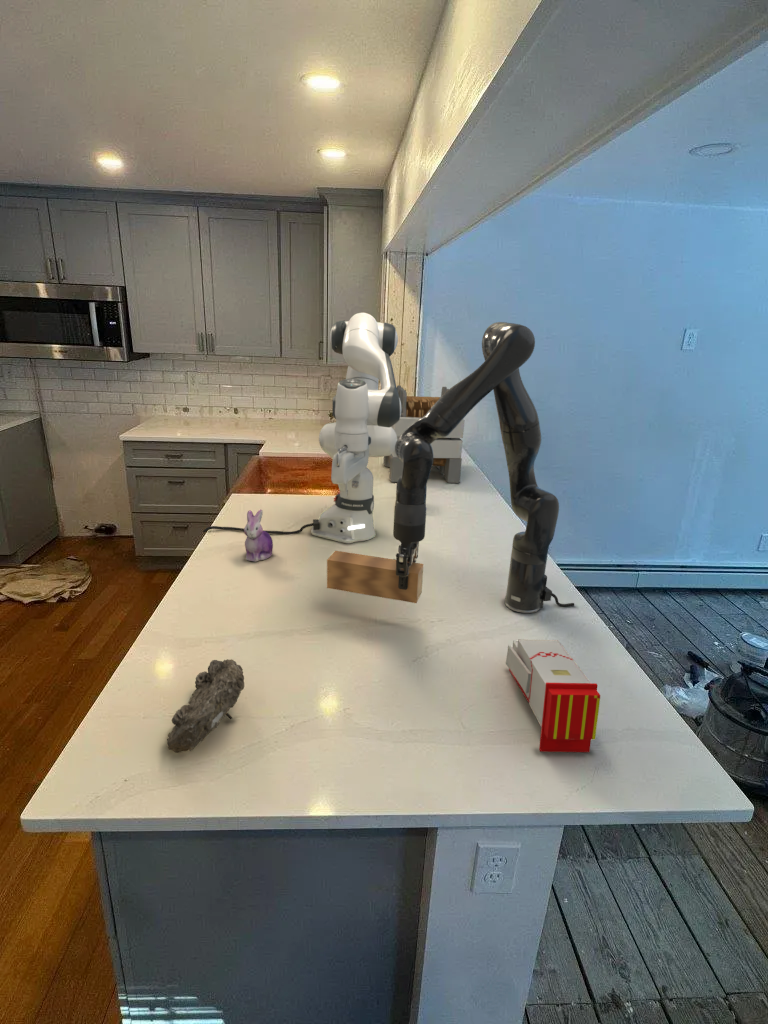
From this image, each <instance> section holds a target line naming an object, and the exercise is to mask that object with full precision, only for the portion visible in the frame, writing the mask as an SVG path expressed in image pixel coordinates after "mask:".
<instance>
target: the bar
mask: <svg viewBox="0 0 768 1024" xmlns="http://www.w3.org/2000/svg"><path fill="white" fill-rule="evenodd" d="M407 563H409V562H407ZM401 570H404V569H403V568H401ZM423 578H424V563H419V562H416V563H414V562H413V563H412V566H411V567H410V569H409V575H408V588H407V590H403V589H399V588H398V583H399V576H397V575H396V559H394V558H389V557H388V558H387V557H381V556H380V557H379V556H375V555H367V554H361V553H353V552H347V551H341V550H334V551H333V552H332V553H331V555H330V556H329V557H328V558H327V559H326V589H329V590H337V591H342V592H348V593H354V594H360V595H366V596H372V597H377V598H383V599H389V600H393V601H400V602H401V601H402V602H407V603H412V604H417V603H418V601H419V599H420V597H421V595H422V593H423Z"/></svg>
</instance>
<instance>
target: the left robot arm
mask: <svg viewBox="0 0 768 1024" xmlns="http://www.w3.org/2000/svg"><path fill="white" fill-rule="evenodd" d="M398 335H399V334H398V332H397V329H396V327H395V325H394V324H391V323H388V322H386V321H385V322H379V321H377V320H376V319H375V317H374V316H373V315H371V314H370V313H368V312H357V313H355V314H353V315H352V316H351V317H350V319H349V320H348V321H345V320H339V321H335V323H333V324H332V326H331V330H330V332H329V343H330V346H331V349H332V351H334V353H336V354H339V355H342V357H343V360H344V362H345V363H346V364H347V369H346V374H345V375H346V376H345V378H344V379H341V380H339V382H338V383H337V385H336V393H335V395H334V396H333V397H332V410H331V411H332V415H331V416H332V417H333V418H334V419H335V422H330V423H325V424H324V425H323V426H322V427H321V429H320V431H319V434H318V442H319V446H320V448H321V450H322V451H323V452H324V453H325V454H327V455H328V456H329V457H330V459H332V461H331V462H332V463H331V473H330V474H331V476H330V480H331V483H332V484H334V485H337V487H338V489H339V491H338V492H337V494H336V495H335V496H334V497H333V502H334V504H333V505H331V506H329V507H328V508H326V509H325V510H323V512H321V514H320V515H319V517H318V519H317V518H316V519H312V522H311V523H307V524H304V525H302V526H301V527H300V529H298V530H294V531H284V530H283V531H281V530H263V531H266V532H267V533H269V534H270V535H271V534H274V535H296V534H300V533H302V532H303V530H304V529H306V528H309V527H312V528H311V530H310V533H311V536H315V537H319V538H323V539H326V540H330V541H336V542H339V543H343V544H352V543H357V542H365V541H368V540H372V539H373V538H375V537H376V535H377V532H376V528H375V523H374V513H373V512H374V509H375V496H374V474H373V472H372V471H371V469H369V468H368V465H369V458H384V456H389V455H391V454H392V453H393V452H394V450H395V444H396V442H397V435H396V433H395V431H394V429H393V428H392V427H391V426H393V425H394V424H396V423H397V422H398V421H399V420H400V416H401V410H402V408H401V401H400V398H399V395H398V392H397V382H396V377H395V373H394V368H393V364H392V360H391V356H392V355H393V354H394V353H395V351H396V349H397V347H398V342H399V336H398ZM379 382H380V388H381V389H379ZM244 528H245V527H244ZM244 528H243V527H235V526H218V525H211V526H208V527H206V528H205V529H203V530H202V532H203V533H207V532H208V531H210V530H220V531H221V530H222V531H224V530H225V531H238V532H244Z"/></svg>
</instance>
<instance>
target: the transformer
mask: <svg viewBox="0 0 768 1024" xmlns="http://www.w3.org/2000/svg"><path fill="white" fill-rule="evenodd" d="M396 388H397V392H398V395H399V398H400V401H401V408H402V410H401V416H400V420H399V421H398V422H397V423H396V424H394V425H393V426H391V427H392V428H393V429H394V431H395V433H396V435H397V440H398V438H399V437H400V435H401V434H402V433H403V432H404V431H405V430H406V429H407V428H409V427H410V426H411V425H412V424H414V423H415V422H416V421H418V420H419V419H420V418H422V417H423V416H424V415H425V414H426V413H427V412H428V411H429V410H430V409H431V407H432V406H433V405H434V404H435V403H436V402H437V401H438V400H439V398H440V397H441V396H442V395H443V394H444V393H445V392H447V391H448V390H449V389H450V388H447V386H442V387H441V392H440V393H441V394H440V396H415V395H414V396H413V395H412V396H411V395H407V394H408V393H407V390H406V389H404V388H403V387H402V385H399V384H398V385H396ZM464 429H465V418H463V420H462V421H461V422H460V423H459V424H458V425H457V426H456V427H455V428H454V430H453V431H452V432H451V433H450V434H449V435H448V436H446V437H444V438H438V439H436V440H435V441H434V442H433V443H431V446H432V449H433V464H432V467H436V468H437V470H438V469H439V473H440V474H441V475H443V478H444V479H445V481H446V482H447V483H449V484H455V483H456V484H459V483H461V472H462V461H463V460H462V453H463V442H464V441H463V440H462V439H463V438H464V431H465V430H464ZM383 466H384V467H388V468H389V475H388V476H389V477H388V478H389V480H390V482H391V483H397V481H398V478H399V477H400V476H402V473H403V462H402V461H401V460H400V459H399V458H398V457H397V456H396V454H395V450H394V452H393V453H392V454H391V455H389V456H383Z"/></svg>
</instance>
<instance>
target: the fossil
mask: <svg viewBox="0 0 768 1024" xmlns="http://www.w3.org/2000/svg"><path fill="white" fill-rule="evenodd" d="M243 670H244V669H243V667H242V665H240V664H237V662H236V661H235V660H234V659H232V658H231V659H227V658H226V659H224V660H223V661H222V660H217V659H212V660H211V661H210V663H209V665H208V666H207V671H201V672H199V673H198V674H197V675H196V676H195V680H194V684H195V685H194V687H195V689H194V690H193V693H192V694H191V697H190V698H189V700H188V704H184V705H182V706H181V707H180V709H177V710H176V711H175V713H174V715H173V716H172V718H171V723H172V724H173V727H172V730H171V731H170V732H168V734H167V738H166V741H167V742H166V745H167V749H168V750H169V751H173V752H174V753H176V754H178V753H182V752H188V751H189V752H192V751H193V750H195V748H196V747H197V746H199V744H200V743H201V742H203V741H204V740H205V739H206V738H207V737H208V736H209V735H210V734H211V733H212V732H214V730H215V729H217V727H218V726H219V724H220V722H221V721H222V720H223V719H224V718H225V716H226V717H227V719H229V720H233V717H232V715H230V714H229V710H230V709H231V708H234V706H235V704H236V703H237V702H238V699H239V697H240V695H241V693H242V691H243V690H245V689H244V688H245V675H244V671H243Z"/></svg>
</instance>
